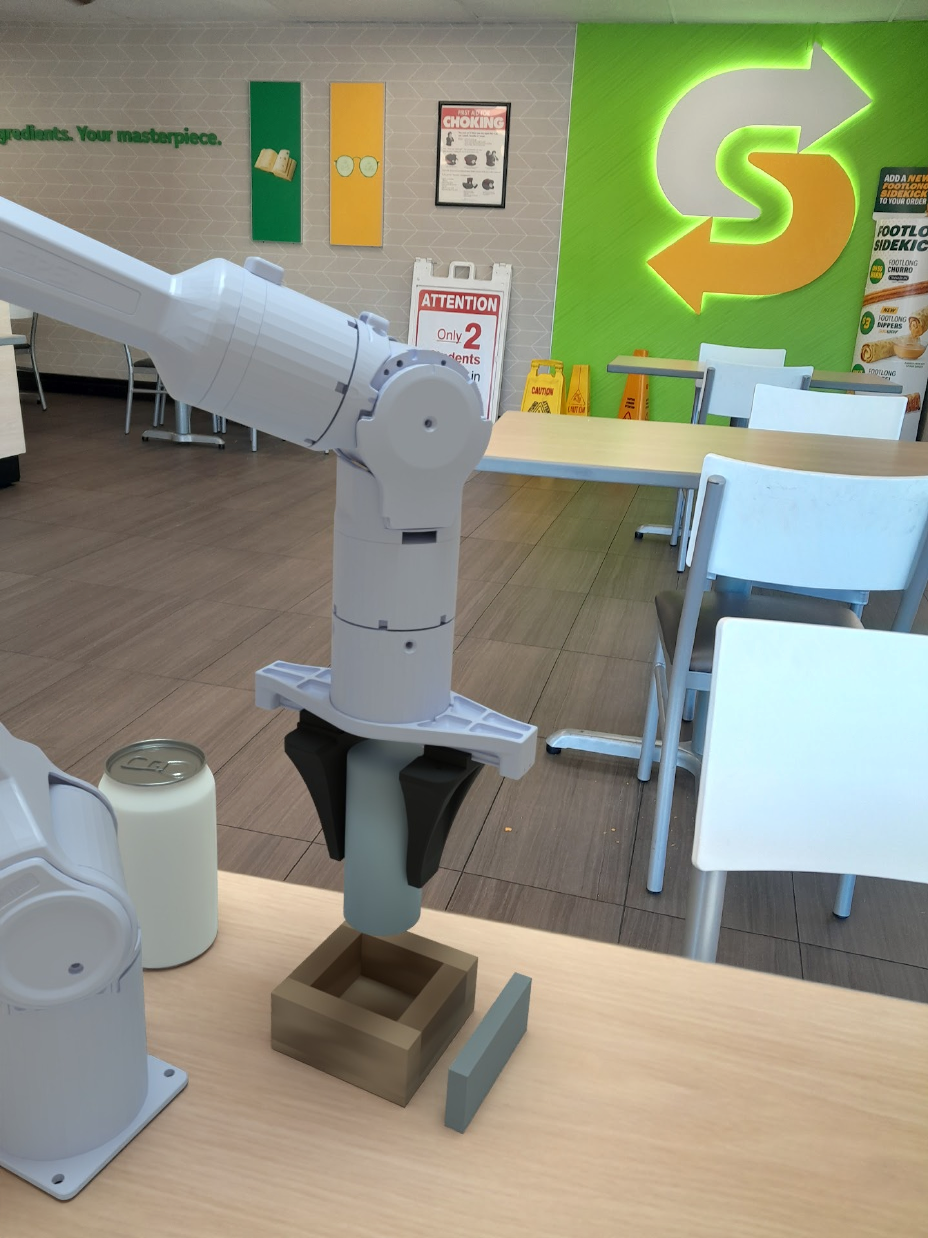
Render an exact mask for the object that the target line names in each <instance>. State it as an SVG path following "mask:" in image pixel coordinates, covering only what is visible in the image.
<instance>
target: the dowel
mask: <svg viewBox="0 0 928 1238" xmlns="http://www.w3.org/2000/svg"><path fill="white" fill-rule="evenodd" d="M423 754H424V747H423V746H419V745H416V744H412V743H407V742H397V741H387V740H378V739H369V740H365V741H362V742H360V743H357V744H356V745H354V746H353V747H351V748H350V750H349V751H348V754H347V783H346V823H345V858H344V867H343V868H344V869H343V870H344V871H343V903H342V904H343V906H342V909H343V913H342V915H343V918H344V921H345V920H346V922H347V923H348V924H349V925H350V926H351V927H352V928H354V929H355V930H357V931H359V932H362V933H365V934H369V935H374V936H390V935H396V934H400V933H403V932H405V931H409V930H410V929H412V928H413V927H415V925H417V923H418V922H419V920H420V917H421V911H422V894H423V893H422V891H423V887H422V888H420V889H418V888H415V887H412V886H409V885H408V882H407V875H406V862H407V846H408V823H407V813H406V806H405V801H404V795H403V792H402V788H401V784H400V781H399V772H400V771H401V770H402V769H403V768H404V767H406V766H407V765H408V764H409V763H411V762H412V761H413V760H414V759H416V758H417V757H418V756H422V755H423Z"/></svg>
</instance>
